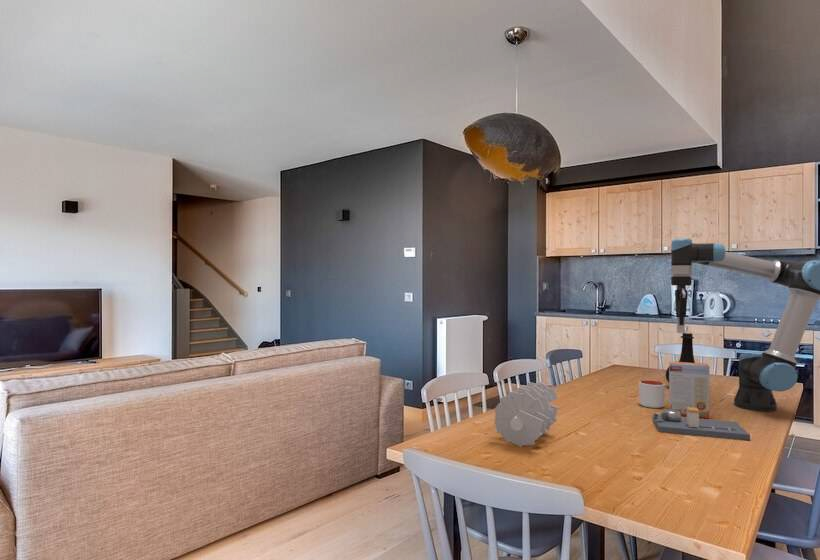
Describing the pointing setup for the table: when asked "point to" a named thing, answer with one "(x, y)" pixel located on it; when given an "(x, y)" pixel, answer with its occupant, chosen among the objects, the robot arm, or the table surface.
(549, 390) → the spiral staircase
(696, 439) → the table surface
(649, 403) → the cup
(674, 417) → the dial
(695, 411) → the block
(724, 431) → the console
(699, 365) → the cracker box
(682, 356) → the glass bottle
